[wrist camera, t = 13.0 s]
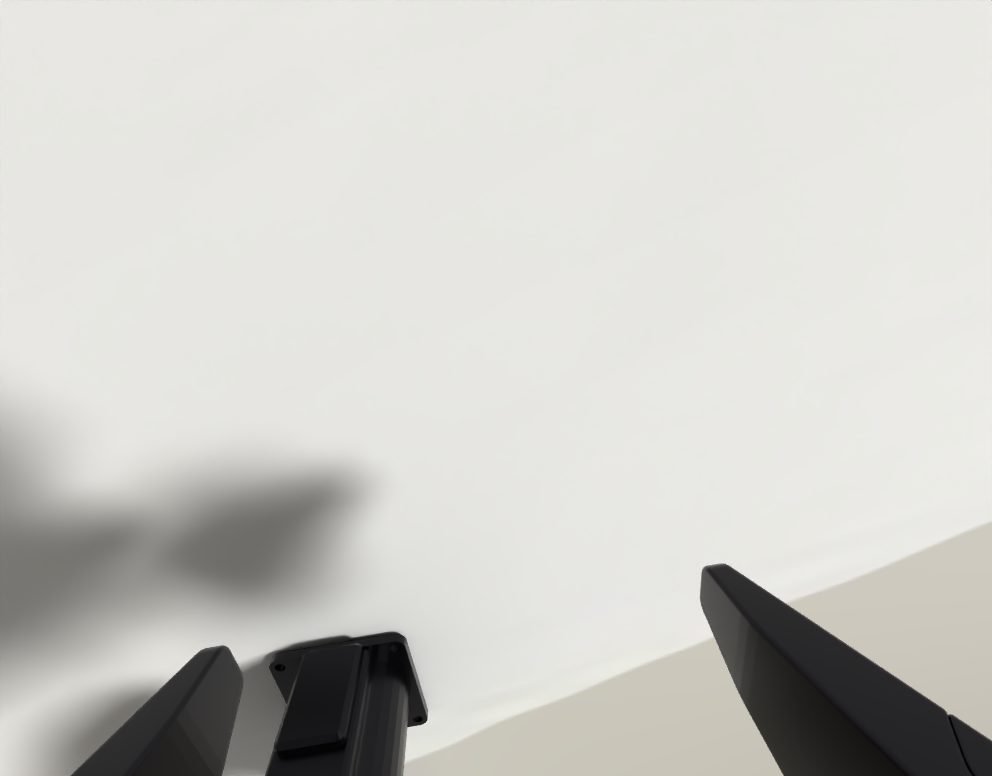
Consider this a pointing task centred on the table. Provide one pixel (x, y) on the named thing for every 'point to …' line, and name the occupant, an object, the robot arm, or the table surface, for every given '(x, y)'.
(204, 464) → the table surface
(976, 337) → the table surface
